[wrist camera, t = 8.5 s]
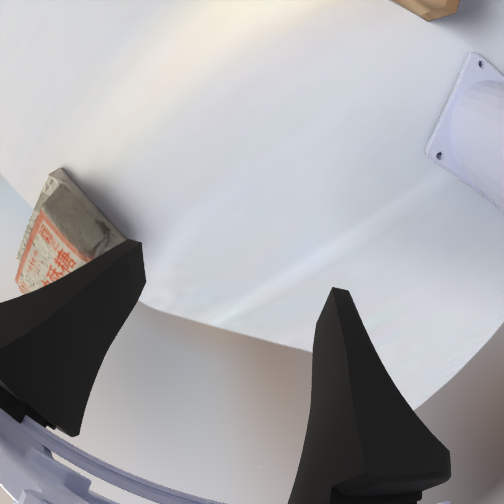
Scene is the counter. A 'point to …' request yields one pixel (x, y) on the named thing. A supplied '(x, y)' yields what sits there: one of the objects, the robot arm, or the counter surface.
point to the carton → (429, 7)
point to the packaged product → (62, 234)
